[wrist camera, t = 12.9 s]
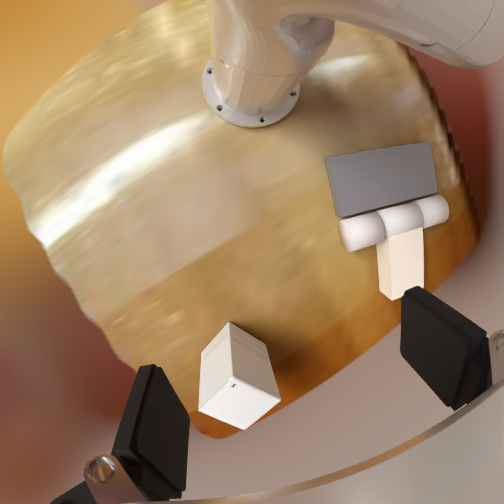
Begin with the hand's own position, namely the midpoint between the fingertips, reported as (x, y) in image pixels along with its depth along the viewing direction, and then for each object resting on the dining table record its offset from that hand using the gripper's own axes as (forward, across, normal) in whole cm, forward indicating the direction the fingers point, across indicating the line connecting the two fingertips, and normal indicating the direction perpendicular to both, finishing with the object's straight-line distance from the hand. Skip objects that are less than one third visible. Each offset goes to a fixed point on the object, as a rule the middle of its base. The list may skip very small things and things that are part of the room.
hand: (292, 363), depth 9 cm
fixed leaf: (+28, -22, 0) cm, 36 cm away
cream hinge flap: (+28, -22, +9) cm, 37 cm away
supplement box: (+28, +6, +18) cm, 34 cm away
